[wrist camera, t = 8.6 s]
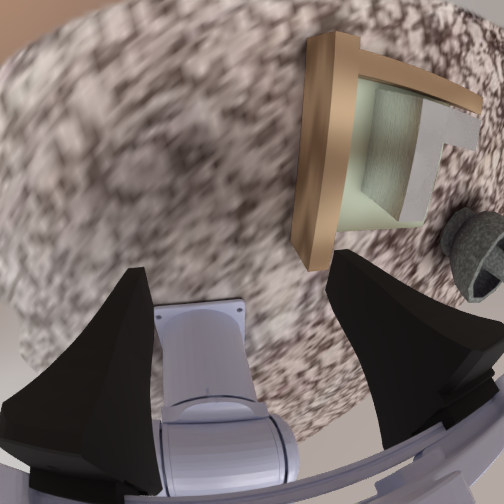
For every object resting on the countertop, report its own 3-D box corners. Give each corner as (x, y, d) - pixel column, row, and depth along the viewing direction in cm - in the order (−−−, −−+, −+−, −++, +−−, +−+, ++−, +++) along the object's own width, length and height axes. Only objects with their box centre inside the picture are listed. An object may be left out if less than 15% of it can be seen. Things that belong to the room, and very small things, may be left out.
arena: (417, 231, 25) (442, 254, 22) (290, 240, 22) (308, 271, 19) (449, 80, 17) (483, 88, 13) (307, 38, 14) (335, 31, 11)
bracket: (375, 88, 16) (423, 98, 12) (435, 105, 17) (481, 120, 13) (360, 191, 21) (398, 222, 17) (418, 192, 22) (456, 220, 18)
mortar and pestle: (415, 261, 27) (484, 341, 18) (454, 183, 23) (544, 249, 13) (463, 269, 31) (517, 329, 21) (494, 208, 26) (559, 262, 16)
